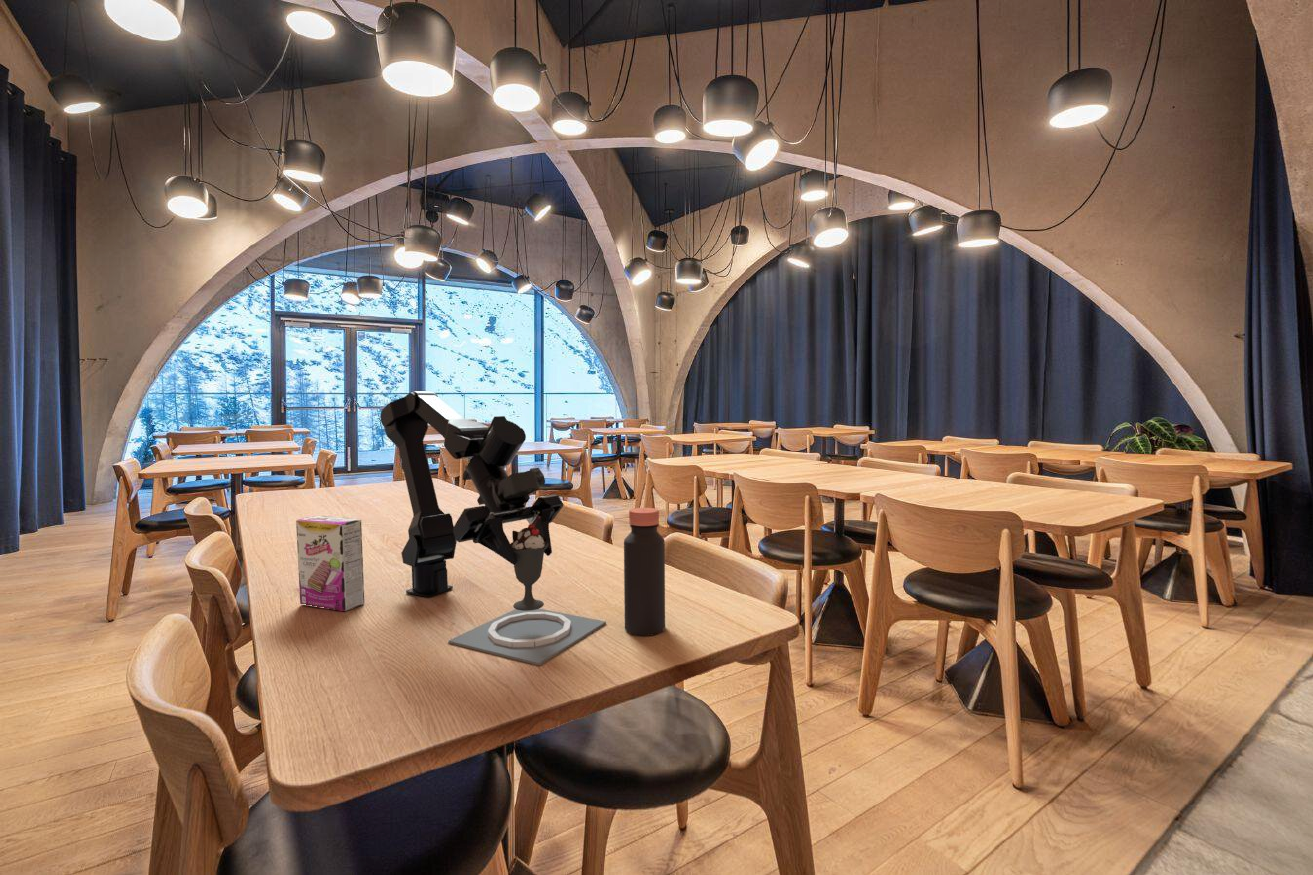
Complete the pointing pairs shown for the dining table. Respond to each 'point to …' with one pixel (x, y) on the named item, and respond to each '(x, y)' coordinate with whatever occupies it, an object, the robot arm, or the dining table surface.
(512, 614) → the ring mat
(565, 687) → the dining table surface
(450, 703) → the dining table surface
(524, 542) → the sundae
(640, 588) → the bottle
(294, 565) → the dining table surface
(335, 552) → the candy bar box
